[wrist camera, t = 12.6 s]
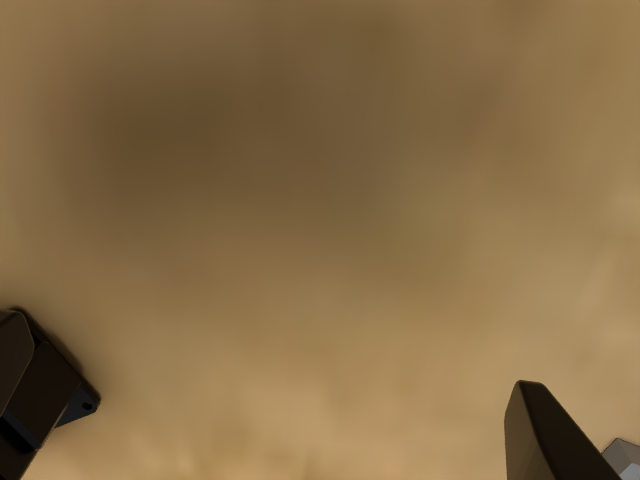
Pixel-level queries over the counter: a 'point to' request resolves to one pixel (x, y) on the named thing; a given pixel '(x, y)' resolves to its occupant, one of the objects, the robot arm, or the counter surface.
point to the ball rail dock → (624, 459)
